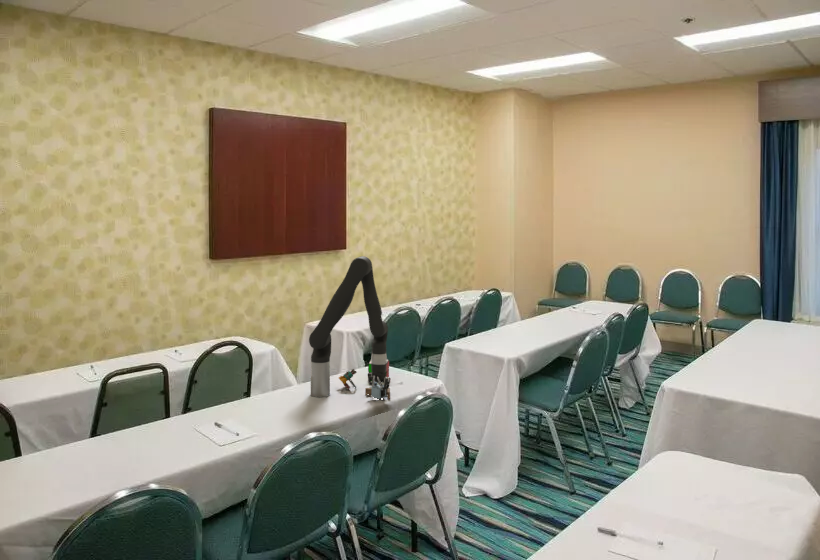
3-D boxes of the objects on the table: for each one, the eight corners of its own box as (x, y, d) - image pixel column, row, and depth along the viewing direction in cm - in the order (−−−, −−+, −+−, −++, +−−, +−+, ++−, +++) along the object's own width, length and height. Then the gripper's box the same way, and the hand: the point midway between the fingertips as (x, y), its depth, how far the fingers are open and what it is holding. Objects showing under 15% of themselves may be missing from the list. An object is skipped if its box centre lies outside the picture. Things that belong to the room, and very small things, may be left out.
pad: (372, 400, 311) (372, 400, 311) (373, 397, 316) (372, 396, 316) (384, 400, 311) (384, 400, 311) (384, 397, 317) (384, 396, 317)
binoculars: (346, 389, 334) (336, 375, 331) (360, 379, 336) (350, 364, 333) (351, 395, 326) (340, 380, 323) (365, 384, 328) (355, 369, 325)
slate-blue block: (371, 396, 313) (371, 386, 313) (378, 394, 317) (378, 384, 316) (378, 398, 310) (378, 388, 309) (385, 396, 314) (385, 386, 313)
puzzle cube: (389, 377, 352) (389, 359, 350) (386, 382, 342) (386, 364, 341) (371, 376, 353) (371, 358, 351) (368, 381, 343) (368, 363, 342)
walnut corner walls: (365, 399, 313) (365, 392, 313) (365, 394, 320) (365, 387, 320) (390, 399, 314) (390, 392, 313) (389, 394, 321) (389, 387, 320)
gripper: (363, 360, 313) (363, 394, 315) (384, 366, 304) (383, 400, 306) (374, 357, 319) (373, 391, 321) (394, 363, 309) (394, 397, 311)
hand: (378, 395), depth 313 cm, fingers closed on slate-blue block, 5 cm apart
